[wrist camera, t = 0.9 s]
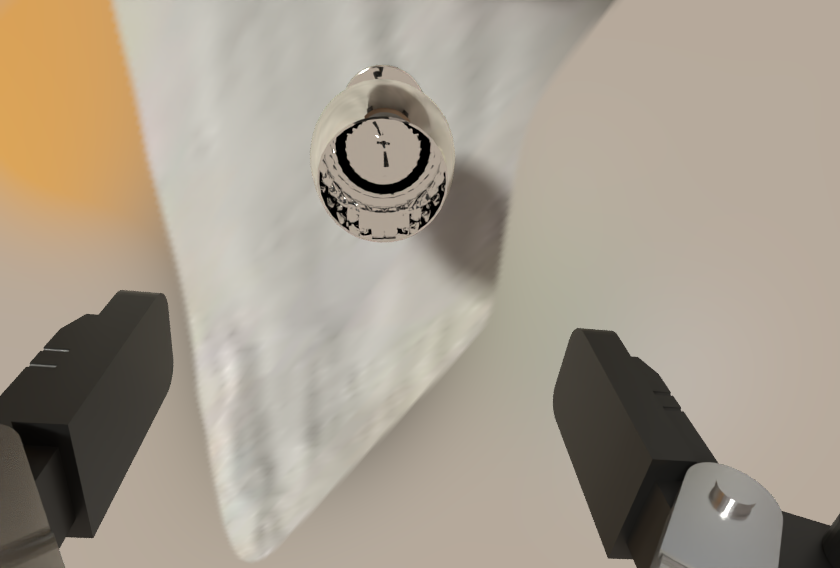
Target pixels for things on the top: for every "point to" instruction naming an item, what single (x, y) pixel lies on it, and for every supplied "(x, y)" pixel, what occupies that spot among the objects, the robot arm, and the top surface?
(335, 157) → the wineglass
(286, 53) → the top surface
